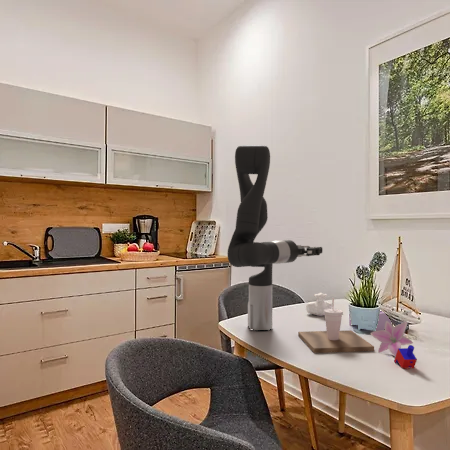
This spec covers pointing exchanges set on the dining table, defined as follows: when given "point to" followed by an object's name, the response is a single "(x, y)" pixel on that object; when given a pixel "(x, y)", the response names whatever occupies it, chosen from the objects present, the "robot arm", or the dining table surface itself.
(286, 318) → the dining table surface
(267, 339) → the dining table surface
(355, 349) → the walnut board
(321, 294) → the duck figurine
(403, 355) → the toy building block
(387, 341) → the lily
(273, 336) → the dining table surface
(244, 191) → the robot arm
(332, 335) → the smoothie
